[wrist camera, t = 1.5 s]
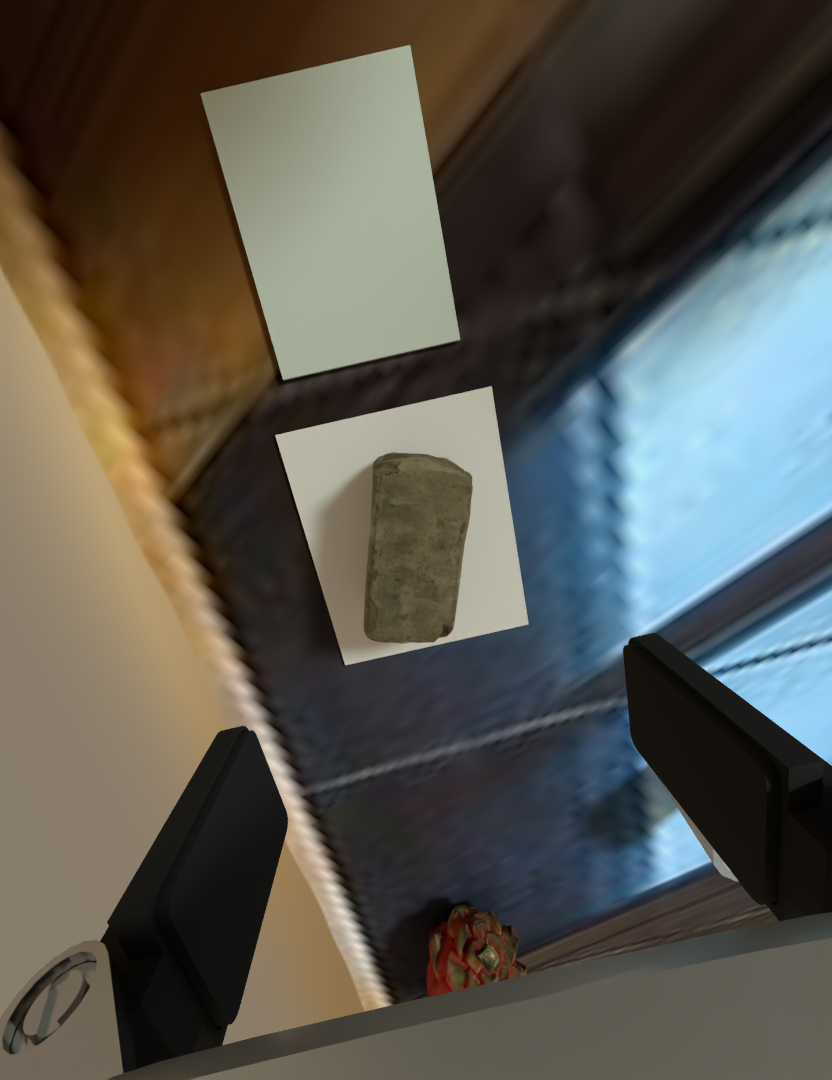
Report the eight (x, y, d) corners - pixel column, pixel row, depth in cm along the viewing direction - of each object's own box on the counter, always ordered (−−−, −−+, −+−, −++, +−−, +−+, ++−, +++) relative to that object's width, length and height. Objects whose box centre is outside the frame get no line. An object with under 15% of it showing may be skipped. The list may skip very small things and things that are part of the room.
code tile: (276, 435, 25) (274, 435, 25) (490, 386, 25) (491, 386, 25) (345, 663, 30) (345, 665, 30) (527, 623, 30) (528, 624, 30)
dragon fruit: (462, 852, 38) (474, 917, 43) (392, 934, 33) (414, 997, 38) (541, 938, 32) (545, 1002, 36) (468, 1054, 27) (483, 1110, 32)
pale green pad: (204, 99, 21) (200, 93, 20) (409, 52, 21) (409, 44, 20) (284, 380, 25) (283, 379, 24) (459, 341, 25) (460, 339, 24)
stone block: (366, 612, 29) (360, 648, 24) (373, 448, 26) (369, 452, 21) (446, 616, 29) (456, 652, 24) (462, 455, 26) (478, 460, 21)
